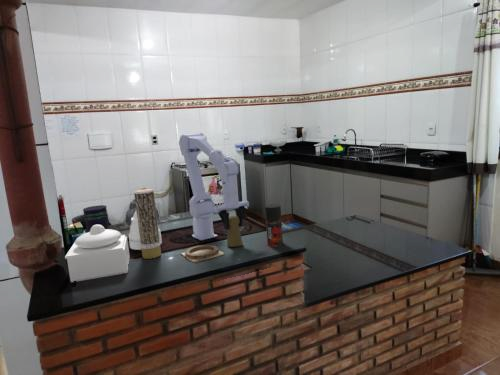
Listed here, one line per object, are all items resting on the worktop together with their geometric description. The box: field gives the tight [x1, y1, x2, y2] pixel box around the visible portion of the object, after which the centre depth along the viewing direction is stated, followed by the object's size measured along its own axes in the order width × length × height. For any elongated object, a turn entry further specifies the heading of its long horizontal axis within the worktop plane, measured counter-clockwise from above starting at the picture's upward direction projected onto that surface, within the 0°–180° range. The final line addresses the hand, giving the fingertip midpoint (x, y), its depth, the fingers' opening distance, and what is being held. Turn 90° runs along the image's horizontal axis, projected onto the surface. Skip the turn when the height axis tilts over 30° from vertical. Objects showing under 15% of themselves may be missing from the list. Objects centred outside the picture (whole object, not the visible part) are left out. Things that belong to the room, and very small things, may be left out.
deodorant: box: [264, 203, 284, 248], centre depth 137 cm, size 6×6×15 cm
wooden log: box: [133, 188, 162, 260], centre depth 134 cm, size 7×7×25 cm
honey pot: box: [128, 210, 163, 251], centre depth 150 cm, size 13×13×18 cm
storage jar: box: [82, 205, 111, 233], centre depth 163 cm, size 10×10×15 cm
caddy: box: [180, 244, 225, 264], centre depth 133 cm, size 12×12×2 cm
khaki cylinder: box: [226, 215, 243, 248], centre depth 140 cm, size 6×6×11 cm
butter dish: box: [64, 224, 131, 283], centre depth 126 cm, size 18×18×16 cm
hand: (233, 227), depth 140 cm, fingers closed on khaki cylinder, 5 cm apart
